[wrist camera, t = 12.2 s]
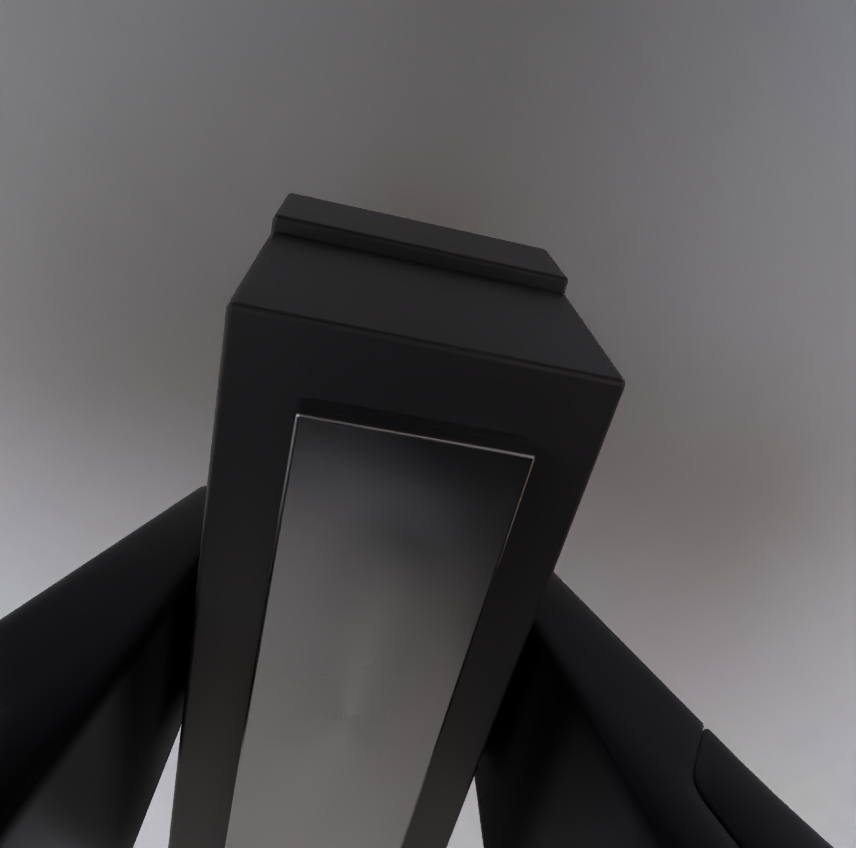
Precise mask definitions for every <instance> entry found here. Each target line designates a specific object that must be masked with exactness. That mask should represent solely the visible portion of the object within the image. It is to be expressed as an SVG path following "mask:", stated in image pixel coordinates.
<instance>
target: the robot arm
mask: <svg viewBox="0 0 856 848" xmlns="http://www.w3.org/2000/svg"><path fill="white" fill-rule="evenodd" d="M206 492H207V486H203V487H200V488H199V489H197V490H196V491H194V492H192V493H191V494H189V495H188V496H186V497H185V498H183V499H182V500H180V501H179V502H177V503H176V504H174V505H173V506H171V507H170V508H168V509H167V510H165V511H164V512H162V513H161V514H159V515H158V516H156V517H155V518H153V519H152V520H150V521H149V522H147V523H146V524H144V525H143V526H141V527H140V528H138V529H137V530H135V531H134V532H132V533H131V534H129V535H128V536H126V537H125V538H123V539H122V540H120V541H118V542H117V543H115V544H114V545H112V546H111V547H109V548H108V549H106V550H105V551H103V552H102V553H100V554H99V555H97V556H96V557H94V558H93V559H91V560H90V561H88V562H87V563H85V564H84V565H82V566H81V567H79V568H78V569H76V570H75V571H73V572H72V573H70V574H69V575H67V576H66V577H64V578H63V579H61V580H60V581H58V582H57V583H55V584H54V585H52V586H51V587H49V588H48V589H46V590H44V591H43V592H41V593H40V594H38V595H37V596H35V597H34V598H32V599H31V600H29V601H28V602H26V603H25V604H23V605H22V606H20V607H19V608H17V609H16V610H14V611H13V612H11V613H10V614H8V615H7V616H5V617H4V618H2V619H1V620H0V848H133V846H134V843H135V841H136V838H137V836H138V833H139V831H140V828H141V826H142V823H143V820H144V818H145V815H146V813H147V810H148V808H149V805H150V803H151V800H152V798H153V795H154V792H155V790H156V787H157V785H158V782H159V780H160V777H161V775H162V772H163V770H164V767H165V764H166V762H167V759H168V757H169V754H170V752H171V749H172V747H173V744H174V742H175V739H176V736H177V734H178V731H179V729H180V726H181V724H182V716H183V706H184V697H185V688H186V678H187V669H188V660H189V651H190V641H191V632H192V623H193V613H194V604H195V595H196V585H197V576H198V567H199V557H200V548H201V539H202V530H203V520H204V511H205V502H206ZM703 727H704V726H703V723H702V722H701V721H700V720H699V719H698V718H697V717H696V716H695V715H694V714H693V713H692V712H691V711H690V710H689V709H688V708H687V707H686V706H685V705H684V704H683V703H682V702H681V701H680V700H679V699H678V698H677V697H676V696H675V695H674V694H673V693H672V692H671V691H670V690H669V689H668V688H667V686H666V685H665V684H664V683H663V682H662V681H661V680H660V679H659V678H658V677H657V676H656V675H655V674H654V673H653V672H652V671H651V670H650V669H649V668H648V667H647V666H646V665H645V664H644V663H643V662H642V661H641V660H640V659H639V658H638V657H637V656H636V655H635V654H634V653H633V652H632V651H631V650H630V649H629V648H628V647H627V646H626V645H625V644H624V643H623V642H622V641H621V640H620V639H619V638H618V637H617V636H616V635H615V634H614V633H613V632H612V631H611V630H610V629H609V628H608V627H607V626H606V625H605V624H604V623H603V622H602V621H601V620H600V619H599V618H598V617H597V616H596V615H595V614H594V613H593V612H592V611H591V610H590V609H589V608H588V606H587V605H586V604H585V603H584V602H583V601H582V600H581V599H580V598H579V597H578V596H577V595H576V594H575V593H574V592H573V591H572V590H571V589H570V588H569V587H568V586H567V585H566V584H565V583H564V582H563V581H562V580H561V579H560V578H559V577H558V576H557V575H556V574H555V573H554V572H553V573H552V576H551V578H550V581H549V584H548V586H547V589H546V591H545V594H544V596H543V599H542V602H541V604H540V607H539V609H538V612H537V615H536V617H535V620H534V622H533V625H532V628H531V630H530V633H529V635H528V638H527V640H526V643H525V646H524V648H523V651H522V653H521V656H520V659H519V661H518V664H517V666H516V669H515V671H514V674H513V677H512V679H511V682H510V684H509V687H508V690H507V692H506V695H505V697H504V700H503V702H502V705H501V708H500V710H499V713H498V715H497V718H496V721H495V723H494V726H493V728H492V731H491V733H490V736H489V739H488V741H487V744H486V746H485V749H484V752H483V754H482V757H481V759H480V762H479V764H478V767H477V770H476V772H475V775H474V776H475V784H476V791H477V799H478V807H479V815H480V823H481V831H482V839H483V846H484V848H833V847H832V846H831V845H830V844H829V843H828V842H827V841H825V840H824V839H823V838H822V837H821V836H820V835H819V834H818V833H817V832H816V831H814V830H813V829H812V828H811V827H810V826H809V825H808V824H807V823H806V822H805V821H803V820H802V819H801V818H800V817H799V816H798V815H797V814H796V813H795V812H794V811H792V810H791V809H790V808H789V807H788V806H787V805H786V804H785V803H784V802H783V801H782V800H780V799H779V798H778V797H777V796H776V795H775V794H774V793H773V792H772V791H771V790H770V789H769V788H768V787H767V786H766V785H765V784H764V783H763V782H762V781H761V780H760V779H759V778H758V777H756V776H755V775H754V774H753V773H752V772H751V771H750V770H749V769H748V768H747V767H746V766H745V765H744V764H743V763H742V762H741V761H740V760H739V759H738V758H737V757H736V756H735V755H734V754H733V753H732V752H731V751H730V750H729V749H728V748H727V747H726V746H725V745H724V744H723V743H722V742H721V741H720V740H719V739H718V738H717V737H716V736H715V735H714V734H713V733H712V732H711V731H710V730H709V729H704V730H703Z"/></svg>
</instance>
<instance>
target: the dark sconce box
mask: <svg viewBox="0 0 856 848" xmlns="http://www.w3.org/2000/svg"><path fill="white" fill-rule="evenodd" d="M567 283H568V279H567V277H566V276H565V275H564V273H563V272H562V271H561V269H560V268H559V267H558V266H557V264H556V263H555V262H554V260H553V259H552V258H551V256H550V255H549V254H548V252H547V251H546V250H544V249H541V248H536V247H532V246H527V245H523V244H518V243H514V242H509V241H505V240H500V239H496V238H491V237H487V236H482V235H478V234H473V233H469V232H464V231H460V230H455V229H451V228H446V227H442V226H437V225H433V224H428V223H424V222H419V221H415V220H410V219H406V218H401V217H397V216H392V215H388V214H384V213H379V212H375V211H370V210H366V209H361V208H357V207H352V206H348V205H343V204H339V203H334V202H330V201H325V200H321V199H316V198H312V197H307V196H303V195H298V194H294V193H291V194H288V196H287V197H286V199H285V200H284V202H283V203H282V205H281V207H280V208H279V210H278V211H277V213H276V214H275V216H274V218H273V221H272V229H271V234H270V236H269V238H268V239H267V241H266V243H265V244H264V246H263V248H262V249H261V251H260V253H259V254H258V256H257V258H256V259H255V261H254V262H253V264H252V266H251V267H250V269H249V271H248V272H247V274H246V276H245V277H244V279H243V281H242V282H241V284H240V286H239V287H238V289H237V290H236V292H235V294H234V295H233V297H232V299H231V300H230V302H229V304H228V305H227V307H226V315H225V325H224V334H223V343H222V353H221V362H220V371H219V381H218V390H217V399H216V409H215V418H214V427H213V436H212V446H211V455H210V464H209V474H208V483H207V492H206V502H205V511H204V520H203V530H202V539H201V548H200V557H199V567H198V576H197V585H196V595H195V604H194V613H193V623H192V632H191V641H190V651H189V660H188V669H187V678H186V688H185V697H184V706H183V716H182V725H181V734H180V744H179V753H178V762H177V772H176V781H175V790H174V799H173V809H172V818H171V827H170V837H169V846H168V848H446V847H447V845H448V842H449V839H450V837H451V834H452V832H453V829H454V827H455V824H456V821H457V819H458V816H459V814H460V811H461V808H462V806H463V803H464V801H465V798H466V796H467V793H468V790H469V788H470V785H471V783H472V780H473V777H474V775H475V772H476V770H477V767H478V764H479V762H480V759H481V757H482V754H483V752H484V749H485V746H486V744H487V741H488V739H489V736H490V733H491V731H492V728H493V726H494V723H495V721H496V718H497V715H498V713H499V710H500V708H501V705H502V702H503V700H504V697H505V695H506V692H507V690H508V687H509V684H510V682H511V679H512V677H513V674H514V671H515V669H516V666H517V664H518V661H519V659H520V656H521V653H522V651H523V648H524V646H525V643H526V640H527V638H528V635H529V633H530V630H531V628H532V625H533V622H534V620H535V617H536V615H537V612H538V609H539V607H540V604H541V602H542V599H543V596H544V594H545V591H546V589H547V586H548V584H549V581H550V578H551V576H552V573H553V571H554V568H555V565H556V563H557V560H558V558H559V555H560V553H561V550H562V547H563V545H564V542H565V540H566V537H567V534H568V532H569V529H570V527H571V524H572V522H573V519H574V516H575V514H576V511H577V509H578V506H579V503H580V501H581V498H582V496H583V493H584V491H585V488H586V485H587V483H588V480H589V478H590V475H591V472H592V470H593V467H594V465H595V462H596V460H597V457H598V454H599V452H600V449H601V447H602V444H603V441H604V439H605V436H606V434H607V431H608V428H609V426H610V423H611V421H612V418H613V416H614V413H615V410H616V408H617V405H618V403H619V400H620V397H621V395H622V392H623V390H624V387H625V381H624V379H623V378H622V376H621V375H620V373H619V372H618V371H617V369H616V368H615V366H614V365H613V363H612V362H611V361H610V359H609V358H608V356H607V355H606V353H605V352H604V351H603V349H602V348H601V346H600V345H599V343H598V342H597V341H596V339H595V338H594V336H593V335H592V333H591V332H590V331H589V329H588V328H587V326H586V325H585V323H584V322H583V320H582V319H581V318H580V316H579V315H578V313H577V312H576V310H575V309H574V308H573V306H572V305H571V303H570V302H569V300H568V299H567V298H566V296H565V295H564V293H565V289H566V286H567Z"/></svg>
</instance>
